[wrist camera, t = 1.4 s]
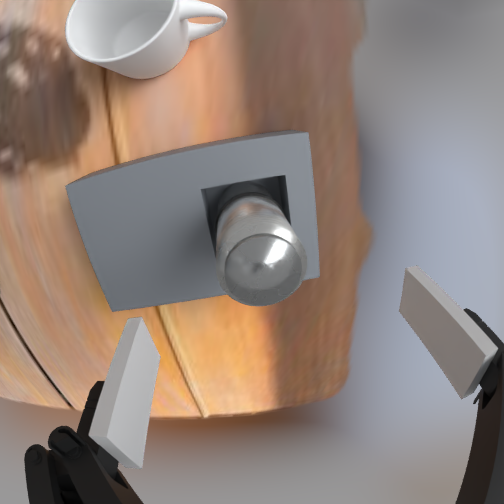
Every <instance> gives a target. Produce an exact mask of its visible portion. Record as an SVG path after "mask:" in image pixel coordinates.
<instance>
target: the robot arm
mask: <svg viewBox="0 0 504 504" xmlns="http://www.w3.org/2000/svg"><path fill="white" fill-rule="evenodd" d="M399 312H400V313H401V314H402V316H403V317H404V318H405V319H406V321H407V322H408V324H409V325H410V326H411V328H412V329H413V330H414V332H415V333H416V334H417V336H418V337H419V338H420V340H421V341H422V342H423V344H424V345H425V346H426V348H427V349H428V351H429V352H430V354H431V355H432V356H433V358H434V359H435V361H436V362H437V363H438V365H439V366H440V368H441V369H442V371H443V372H444V374H445V375H446V377H447V378H448V380H449V381H450V383H451V384H452V386H453V387H454V389H455V390H456V392H457V393H458V395H459V396H460V398H461V399H463V398H465V397H467V396H468V395H470V394H472V393H474V391H475V389H476V388H477V386H478V384H480V386H481V387H482V389H481V390H480V392H479V394H478V395H477V397H476V398H475V400H474V403H473V404H475V403H476V402H477V400H478V399H479V403H478V412H477V419H476V425H475V431H474V437H473V442H472V447H471V451H470V456H469V460H468V464H467V468H466V472H465V475H464V479H463V482H462V485H461V489H460V492H459V495H458V498H457V501H456V504H504V343H503V342H502V341H501V340H500V339H499V338H498V337H497V335H496V334H495V333H494V332H493V331H492V330H491V329H490V328H489V327H487V325H486V324H485V323H484V322H482V319H481V318H480V317H479V316H478V315H477V314H476V313H474V312H472V311H471V310H469V309H467V308H466V309H464V310H463V309H462V308H461V307H460V306H459V305H457V303H456V302H455V301H454V300H453V299H452V298H451V297H450V296H449V295H448V294H446V292H445V291H444V290H443V289H442V288H441V287H440V286H439V285H438V284H437V283H435V282H434V281H433V280H432V279H431V278H430V277H429V276H428V275H427V274H426V273H425V272H424V271H423V270H422V269H421V268H419V267H418V266H413V267H409V268H406V269H405V276H404V284H403V291H402V297H401V303H400V309H399ZM159 362H160V355H159V353H158V351H157V349H156V346H155V344H154V342H153V340H152V338H151V336H150V334H149V332H148V330H147V327H146V325H145V323H144V321H143V318H142V317H137V318H128V320H127V322H126V325H125V327H124V330H123V332H122V335H121V338H120V340H119V343H118V346H117V348H116V351H115V354H114V357H113V359H112V362H111V365H110V368H109V371H108V374H107V377H106V379H105V381H97V382H96V383H95V385H94V386H93V387H92V389H91V390H90V393H89V396H88V398H87V400H88V401H86V404H85V409H84V410H83V413H82V417H81V420H80V423H79V426H78V429H77V433H76V432H75V431H74V430H73V429H72V428H70V427H68V426H60V427H57V428H56V429H55V430H53V431H52V433H51V434H50V436H49V439H48V446H49V448H50V449H51V450H46V449H45V448H44V447H43V446H41V445H39V444H35V445H32V446H31V447H29V448H28V450H27V451H26V453H25V459H24V461H25V473H26V482H27V490H28V497H29V503H30V504H143V502H142V501H141V500H140V498H139V497H138V496H137V494H136V493H135V492H134V490H133V489H132V487H131V486H130V485H129V483H128V482H127V480H126V479H125V477H124V476H123V474H122V473H121V472H120V471H119V469H118V468H117V467H118V462H119V463H121V464H122V465H123V466H124V467H126V468H138V469H142V465H143V457H144V450H145V443H146V436H147V429H148V423H149V417H150V411H151V405H152V399H153V393H154V388H155V382H156V377H157V372H158V367H159Z"/></svg>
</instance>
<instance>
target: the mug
mask: <svg viewBox="0 0 504 504" xmlns="http://www.w3.org/2000/svg"><path fill="white" fill-rule="evenodd" d="M205 16H212V17H219V18H221V19H222V21H220V22H218V23H215V24H195V23H190V22H188V19H189V18H195V17H205ZM226 21H227V15H226V13H225V12H224V11H223V10H222V9H220V8H218V7H217V6H214V5H212V4H209V3H205V2H201V1H197V0H75V2H74V4H73V5H72V7H71V9H70V11H69V14H68V17H67V20H66V25H65V35H66V40H67V43H68V45H69V47H70V49H71V50H72V52H73V53H74V54H75V55H77V56H78V57H80V58H81V59H83V60H86V61H88V62H91V63H94V64H96V65H99V66H102V67H104V68H107V69H109V70H112V71H114V72H117V73H119V74H122V75H124V76H127V77H130V78H135V79H148V78H153V77H157V76H160V75H162V74H164V73H166V72H168V71H169V70H171V69H172V68H174V67H175V66H176V65H177V64H178V63H179V62H180V61H181V60H182V58H183V57H184V56H185V54H186V52H187V50H188V47H189V44H190V41H192V40H195V39H199V38H202V37H205V36H207V35H210V34H212V33H214V32H216V31H218V30H219V29H221V28H222V27H223V26H224V25H225V23H226Z"/></svg>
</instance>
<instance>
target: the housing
mask: <svg viewBox="0 0 504 504" xmlns="http://www.w3.org/2000/svg"><path fill="white" fill-rule="evenodd" d="M243 181H253V182H257V183H259V184H261V185H262V186H264V187H265V188H266V189H267V190H268V191H269V193H270V194H271V196H272V197H273V199H274V200H275V201H276V202H277V203H278V204H279V205H280V207H281V208H282V209H283V211H284V213H285V216H286V219H287V221H288V222H289V224H290V225H291V227H292V229H293V230H294V232H295V233H296V235H297V237H298V238H299V240H300V242H301V243H302V245H303V247H304V249H305V251H306V255H307V271H306V274H305V277H304V279H303V280H307V279H312V278H317V277H320V274H319V251H318V233H317V218H316V205H315V192H314V181H313V171H312V161H311V151H310V143H309V134H308V132H303V131H296V130H286V131H278V132H270V133H262V134H255V135H249V136H242V137H236V138H230V139H225V140H219V141H214V142H208V143H203V144H198V145H194V146H189V147H184V148H180V149H176V150H171V151H167V152H163V153H159V154H155V155H151V156H147V157H143V158H140V159H136V160H132V161H129V162H125V163H122V164H118V165H115V166H112V167H108V168H105V169H102V170H99V171H96V172H93V173H90V174H88V175H86V176H84V177H82V178H80V179H78V180H76V181H74V182H72V183H70V184H68V185H66V186H65V187H66V190H67V194H68V197H69V201H70V204H71V207H72V211H73V214H74V217H75V220H76V223H77V226H78V229H79V232H80V235H81V238H82V240H83V243H84V246H85V249H86V251H87V254H88V256H89V259H90V262H91V264H92V267H93V269H94V272H95V274H96V276H97V279H98V281H99V283H100V286H101V288H102V290H103V293H104V295H105V297H106V299H107V301H108V304H109V306H110V308H111V310H112V312H114V311H122V310H129V309H137V308H144V307H151V306H157V305H164V304H171V303H177V302H184V301H190V300H196V299H202V298H208V297H214V296H220V295H226V293H225V291H224V290H223V289H222V287H221V286H220V284H219V282H218V279H217V274H216V246H217V237H216V232H215V223H216V218H217V215H218V202H219V199H220V197H221V195H222V193H223V192H224V191H225V189H227V188H228V187H229V186H230V185H232V184H234V183H237V182H243Z"/></svg>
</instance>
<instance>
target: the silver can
mask: <svg viewBox="0 0 504 504" xmlns="http://www.w3.org/2000/svg"><path fill="white" fill-rule="evenodd" d="M215 232H216V237H217V246H216V274H217V279H218V282H219V284H220V286H221V287H222V289H223V290H224V291H225V293H226V294H227V295H229V296H230V297H231V298H232V299H234V300H236V301H238V302H240V303H242V304H245V305H250V306H267V305H272V304H275V303H278V302H280V301H282V300H284V299H286V298H287V297H289V296H290V295H291V294H293V293H294V292H295V291H296V290H297V289H298V287H299V286H300V285H301V283H302V281H303V279H304V277H305V274H306V271H307V255H306V251H305V249H304V247H303V245H302V243H301V242H300V240H299V238H298V237H297V235H296V233H295V232H294V230H293V229H292V227H291V225H290V224H289V222H288V221H287V219H286V216H285V213H284V211H283V209H282V208H281V207H280V205H279V204H278V203H277V202H276V201H275V200H274V199H273V197H272V196H271V194H270V193H269V191H268V190H267V189H266V188H265V187H264V186H262V185H261V184H259V183H257V182H253V181H243V182H237V183H234V184H232V185H230V186H229V187H228V188H227V189H225V191H224V192H223V193H222V195H221V197H220V199H219V202H218V215H217V218H216V223H215Z"/></svg>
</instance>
